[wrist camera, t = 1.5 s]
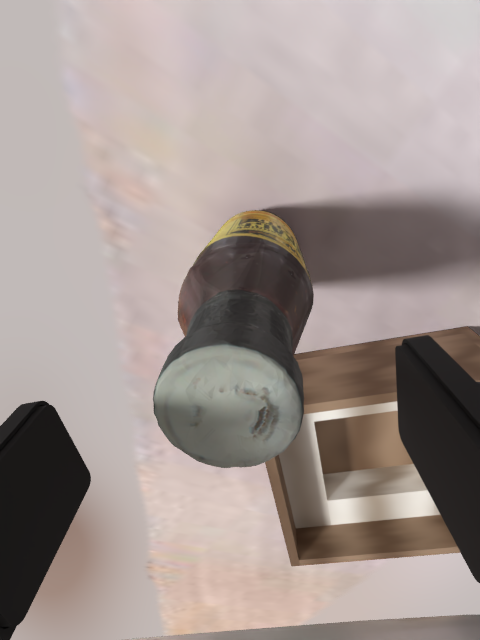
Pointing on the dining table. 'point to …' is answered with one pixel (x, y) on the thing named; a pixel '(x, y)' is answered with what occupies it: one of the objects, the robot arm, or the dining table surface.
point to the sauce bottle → (238, 347)
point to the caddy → (359, 460)
